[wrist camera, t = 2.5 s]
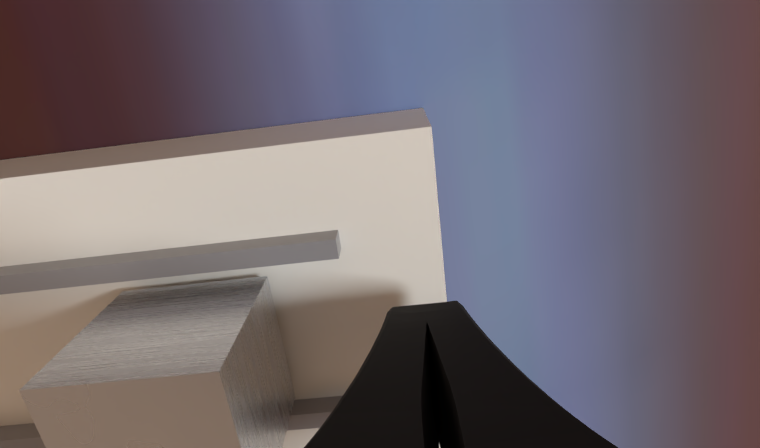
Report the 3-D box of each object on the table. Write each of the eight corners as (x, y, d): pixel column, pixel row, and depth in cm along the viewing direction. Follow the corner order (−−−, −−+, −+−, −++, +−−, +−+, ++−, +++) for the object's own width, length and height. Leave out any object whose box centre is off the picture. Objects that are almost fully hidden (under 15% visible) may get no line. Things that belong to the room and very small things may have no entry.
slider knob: (295, 397, 11) (262, 523, 8) (163, 409, 11) (87, 536, 8) (267, 275, 10) (218, 371, 7) (122, 291, 10) (18, 390, 7)
